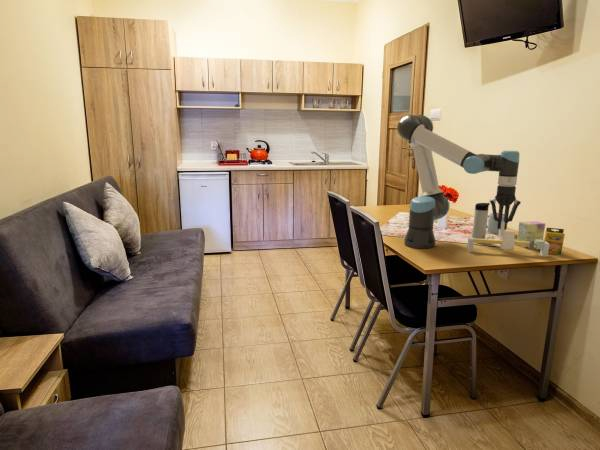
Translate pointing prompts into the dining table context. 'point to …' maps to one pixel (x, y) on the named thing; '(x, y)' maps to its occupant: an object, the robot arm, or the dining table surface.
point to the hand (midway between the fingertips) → (500, 235)
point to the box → (530, 231)
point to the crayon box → (554, 240)
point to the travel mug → (480, 220)
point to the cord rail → (537, 244)
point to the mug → (493, 224)
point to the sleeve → (508, 240)
